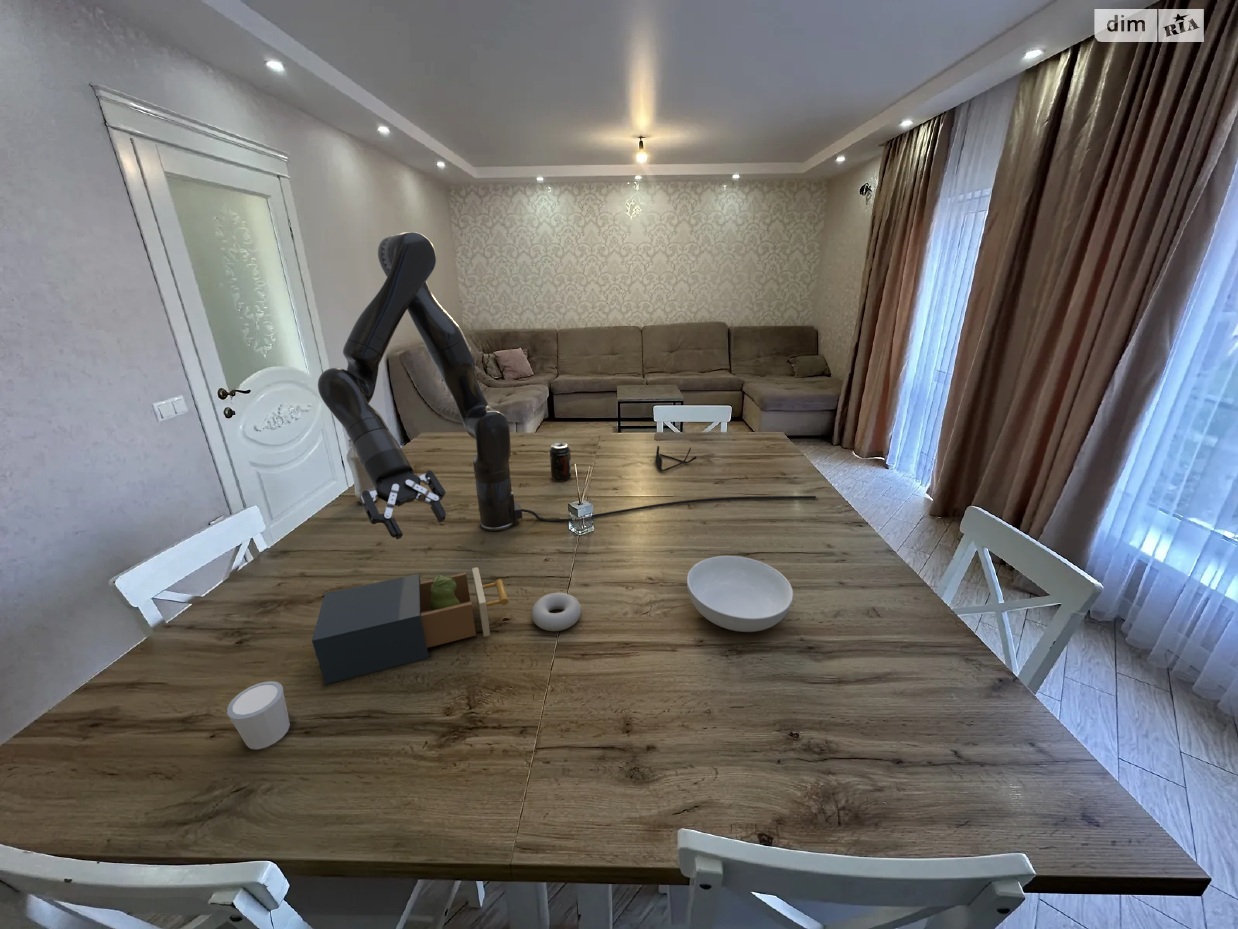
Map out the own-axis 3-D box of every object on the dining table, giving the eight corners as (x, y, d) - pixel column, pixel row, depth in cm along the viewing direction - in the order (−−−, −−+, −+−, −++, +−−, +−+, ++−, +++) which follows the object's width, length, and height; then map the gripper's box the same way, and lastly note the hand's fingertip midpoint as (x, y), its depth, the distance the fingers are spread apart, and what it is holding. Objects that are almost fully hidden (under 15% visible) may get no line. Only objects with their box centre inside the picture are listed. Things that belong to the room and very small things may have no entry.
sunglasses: (697, 472, 169) (698, 459, 167) (656, 472, 169) (657, 459, 167) (691, 455, 184) (692, 443, 182) (654, 455, 184) (654, 443, 182)
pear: (427, 624, 94) (419, 581, 90) (446, 608, 98) (439, 566, 94) (450, 632, 92) (442, 588, 88) (468, 615, 96) (462, 573, 92)
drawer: (502, 593, 105) (499, 562, 102) (513, 629, 94) (509, 596, 91) (403, 616, 98) (396, 584, 95) (402, 658, 87) (395, 623, 84)
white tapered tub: (258, 715, 77) (245, 682, 74) (303, 712, 78) (292, 679, 75) (230, 755, 71) (214, 720, 68) (279, 751, 71) (266, 716, 69)
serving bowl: (729, 662, 87) (732, 631, 84) (666, 597, 104) (667, 570, 102) (812, 625, 96) (817, 596, 93) (741, 571, 113) (744, 546, 110)
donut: (569, 640, 92) (589, 607, 101) (568, 626, 91) (588, 594, 100) (523, 629, 96) (546, 598, 104) (521, 615, 94) (545, 584, 103)
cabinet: (426, 612, 100) (418, 573, 96) (428, 658, 88) (419, 615, 85) (336, 633, 94) (324, 593, 91) (325, 685, 83) (311, 640, 79)
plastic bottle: (371, 506, 146) (357, 444, 138) (351, 504, 147) (337, 442, 140) (385, 497, 152) (372, 437, 144) (366, 495, 153) (352, 435, 146)
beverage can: (575, 477, 166) (574, 444, 161) (563, 484, 160) (561, 450, 156) (560, 473, 169) (558, 440, 165) (547, 479, 164) (545, 446, 159)
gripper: (347, 458, 86) (388, 535, 83) (422, 438, 96) (461, 507, 93) (341, 478, 91) (380, 551, 89) (413, 457, 101) (450, 522, 99)
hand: (422, 528), depth 91 cm, fingers open, 8 cm apart
